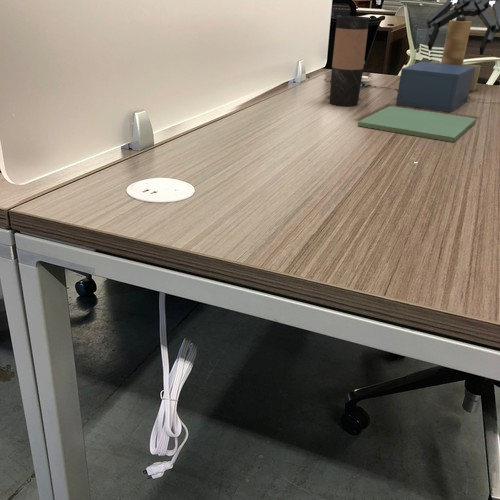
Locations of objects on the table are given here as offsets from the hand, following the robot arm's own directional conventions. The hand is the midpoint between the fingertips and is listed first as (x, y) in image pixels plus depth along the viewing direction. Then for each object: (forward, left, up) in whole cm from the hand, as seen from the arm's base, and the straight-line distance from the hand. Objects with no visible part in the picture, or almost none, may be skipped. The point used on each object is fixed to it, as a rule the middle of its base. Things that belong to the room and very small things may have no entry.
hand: (454, 49), depth 137 cm
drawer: (0, -1, -11) cm, 11 cm away
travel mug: (+18, +30, -12) cm, 37 cm away
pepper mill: (0, 0, -10) cm, 10 cm away
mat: (-4, +40, -12) cm, 42 cm away
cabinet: (0, +14, -12) cm, 18 cm away
